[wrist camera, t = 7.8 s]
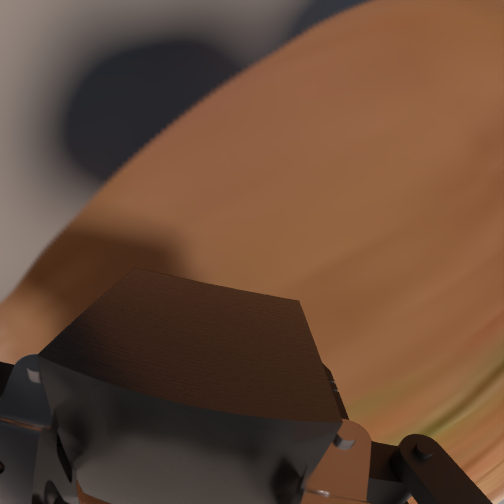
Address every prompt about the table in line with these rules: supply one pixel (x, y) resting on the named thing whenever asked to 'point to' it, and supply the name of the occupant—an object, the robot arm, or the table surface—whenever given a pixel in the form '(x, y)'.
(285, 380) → the shaft
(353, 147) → the table surface
